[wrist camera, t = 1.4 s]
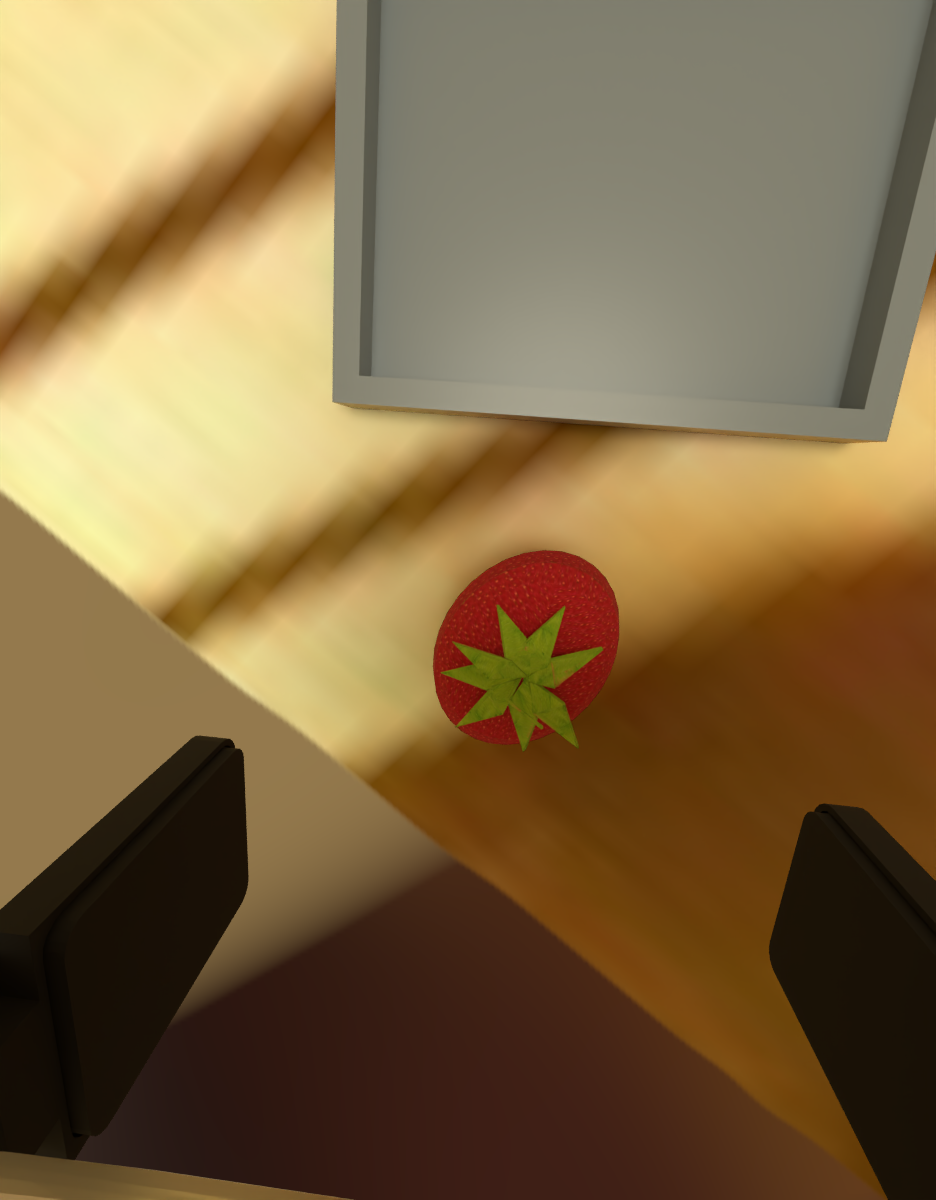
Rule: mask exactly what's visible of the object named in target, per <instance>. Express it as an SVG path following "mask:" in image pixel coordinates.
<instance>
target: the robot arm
mask: <svg viewBox="0 0 936 1200" xmlns="http://www.w3.org/2000/svg"><path fill="white" fill-rule="evenodd" d="M247 886H248V854H247V829H246V804H245V778H244V756H243V752H242V750H240V749H236V748H235V745H234V743H233V741H232V740H231V739H226V738H217V737H207V736H195V737H193V738H192V739H191V740H189V741H188V742H187V743H186V744H185V745H184V746H183V747H182V748H180V749H179V750H178V751H177V752H176V753H175V754H174V755H173V756H172V757H171V758H169V759H168V760H167V761H166V762H165V763H164V764H163V765H161V766H160V767H159V768H158V769H157V770H156V771H155V772H154V773H153V774H151V775H150V776H149V777H148V778H147V779H146V780H145V781H144V782H143V783H141V784H140V785H139V786H138V787H137V788H136V789H135V790H134V791H133V792H131V793H130V794H129V795H128V796H127V797H126V798H125V799H123V800H122V801H121V802H120V803H119V804H118V805H117V806H116V807H115V808H113V809H112V810H111V811H110V812H109V813H108V814H107V815H106V816H104V817H103V819H101V820H100V821H99V822H98V823H97V824H96V825H94V826H93V827H92V828H91V829H90V830H89V831H88V832H87V833H86V834H84V835H83V836H82V837H81V838H80V839H79V840H78V841H77V842H75V843H74V844H73V845H72V846H71V847H70V848H69V849H68V850H67V851H65V852H64V853H63V854H62V855H61V856H60V857H59V858H58V859H56V860H55V861H54V862H53V863H52V864H51V865H50V866H49V867H47V868H46V869H45V870H44V871H43V872H42V873H41V874H40V875H39V876H37V877H36V878H35V879H34V880H33V881H32V882H31V883H30V884H29V885H27V886H26V887H25V888H24V889H23V890H22V891H21V892H20V893H18V894H17V895H16V896H15V897H14V898H13V899H12V900H11V901H10V902H8V903H7V904H6V905H5V906H4V907H3V908H2V909H1V910H0V1200H351V1199H344V1198H337V1197H331V1196H323V1195H317V1194H311V1193H304V1192H297V1191H290V1190H283V1189H277V1188H270V1187H263V1186H256V1185H250V1184H243V1183H237V1182H230V1181H223V1180H216V1179H210V1178H202V1177H196V1176H190V1175H182V1174H176V1173H169V1172H163V1171H156V1170H148V1169H140V1168H132V1167H124V1166H116V1165H108V1164H100V1163H92V1162H84V1161H76V1160H75V1159H76V1157H77V1155H78V1154H79V1152H80V1151H81V1149H82V1147H83V1146H84V1144H85V1143H86V1141H87V1139H88V1138H89V1136H90V1135H91V1136H97V1135H99V1134H101V1133H102V1132H103V1131H104V1129H105V1128H106V1127H107V1126H108V1124H109V1123H110V1121H111V1120H112V1119H113V1117H114V1115H115V1114H116V1112H117V1110H118V1109H119V1107H120V1105H121V1103H122V1102H123V1100H124V1098H125V1097H126V1095H127V1094H128V1092H129V1090H130V1089H131V1087H132V1085H133V1084H134V1081H135V1080H136V1078H137V1077H138V1075H139V1074H140V1072H141V1070H142V1069H143V1067H144V1065H145V1063H146V1062H147V1060H148V1059H149V1057H150V1055H151V1054H152V1052H153V1050H154V1048H155V1047H156V1045H157V1044H158V1042H159V1040H160V1039H161V1037H162V1035H163V1033H164V1032H165V1030H166V1029H167V1027H168V1025H169V1023H170V1022H171V1020H172V1018H173V1017H174V1015H175V1014H176V1012H177V1010H178V1009H179V1007H180V1005H181V1004H182V1002H183V1000H184V998H185V997H186V995H187V994H188V992H189V990H190V989H191V987H192V985H193V984H194V982H195V980H196V979H197V977H198V975H199V974H200V972H201V970H202V968H203V967H204V965H205V963H206V962H207V960H208V958H209V957H210V955H211V954H212V952H213V950H214V949H215V947H216V945H217V944H218V942H219V940H220V938H221V937H222V935H223V934H224V932H225V930H226V929H227V927H228V925H229V924H230V922H231V920H232V918H233V917H234V915H235V914H236V912H237V910H238V909H239V907H240V905H241V903H242V901H243V899H244V897H245V894H246V891H247ZM769 955H770V961H771V965H772V968H773V970H774V973H775V975H776V976H777V978H778V980H779V982H780V984H781V986H782V988H783V990H784V992H785V994H786V996H787V998H788V1000H789V1002H790V1004H791V1006H792V1008H793V1010H794V1012H795V1014H796V1016H797V1018H798V1020H799V1022H800V1024H801V1026H802V1028H803V1030H804V1032H805V1034H806V1036H807V1038H808V1040H809V1042H810V1044H811V1046H812V1048H813V1050H814V1052H815V1054H816V1056H817V1058H818V1060H819V1062H820V1064H821V1066H822V1068H823V1070H824V1072H825V1074H826V1076H827V1078H828V1080H829V1082H830V1084H831V1086H832V1088H833V1090H834V1092H835V1094H836V1096H837V1098H838V1100H839V1102H840V1104H841V1106H842V1108H843V1110H844V1112H845V1114H846V1116H847V1118H848V1120H849V1122H850V1124H851V1126H852V1128H853V1130H854V1132H855V1134H856V1136H857V1138H858V1140H859V1142H860V1144H861V1146H862V1148H863V1150H864V1152H865V1154H866V1156H867V1158H868V1160H869V1162H870V1164H871V1166H872V1168H873V1170H874V1172H875V1174H876V1176H877V1178H878V1180H879V1182H880V1184H881V1186H882V1188H883V1190H884V1192H885V1194H886V1196H887V1198H888V1200H936V881H935V880H934V879H933V878H932V877H931V876H930V875H929V874H928V873H927V872H926V871H925V870H924V869H923V868H922V867H921V866H920V865H919V864H918V863H917V862H916V861H915V860H914V859H913V858H912V857H911V856H910V855H909V854H908V852H907V851H906V850H905V849H904V848H903V847H902V846H901V845H900V844H899V843H898V842H897V841H896V840H895V839H894V838H893V837H892V836H891V835H890V834H889V833H888V832H887V831H886V830H885V829H884V828H883V827H882V826H881V825H880V824H879V823H878V822H877V821H876V820H875V819H874V818H873V817H872V816H871V815H870V814H869V813H868V812H867V811H866V810H864V809H862V808H858V807H850V806H841V805H832V804H821V805H819V806H818V807H817V808H816V809H815V811H814V812H808V813H807V814H806V815H805V817H804V819H803V823H802V826H801V830H800V834H799V837H798V841H797V845H796V848H795V852H794V856H793V859H792V863H791V867H790V870H789V874H788V878H787V881H786V885H785V889H784V892H783V896H782V900H781V903H780V907H779V911H778V914H777V918H776V922H775V925H774V929H773V932H772V936H771V940H770V945H769Z"/></svg>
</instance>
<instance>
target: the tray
mask: <svg viewBox="0 0 936 1200" xmlns="http://www.w3.org/2000/svg"><path fill="white" fill-rule="evenodd" d="M935 252H936V0H337V28H336V122H335V216H334V309H333V402H334V403H338V404H341V405H344V406H348V407H351V408H362V409H376V410H390V411H404V412H418V413H432V414H446V415H460V416H474V417H488V418H502V419H516V420H529V421H543V422H557V423H571V424H585V425H599V426H613V427H627V428H641V429H655V430H669V431H683V432H697V433H711V434H724V435H738V436H752V437H766V438H780V439H794V440H808V441H822V442H836V443H863V442H886V441H887V438H888V434H889V430H890V427H891V423H892V419H893V415H894V411H895V407H896V403H897V399H898V396H899V392H900V388H901V384H902V380H903V376H904V372H905V368H906V364H907V361H908V357H909V353H910V349H911V345H912V341H913V337H914V333H915V330H916V326H917V322H918V318H919V314H920V310H921V306H922V302H923V298H924V295H925V291H926V287H927V283H928V279H929V275H930V271H931V267H932V264H933V260H934V256H935Z"/></svg>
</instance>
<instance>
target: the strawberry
mask: <svg viewBox="0 0 936 1200" xmlns="http://www.w3.org/2000/svg"><path fill="white" fill-rule="evenodd" d="M618 640H619V612H618V606H617V602H616V599H615V595H614V592H613V590H612V588H611V586H610V585H609V583H608V581H607V579H606V578H605V577H604V576H603V574H602V573H601V572H600V571H599V570H598V569H597V568H596V567H595V566H594V565H592V564H590V563H589V562H587V561H585V560H584V559H582V558H580V557H579V556H575V555H572V554H569V553H565V552H562V551H546V550H542V551H535V552H528V553H523V554H520V555H517V556H514V557H511V558H508V559H506V560H504V561H502V562H500V563H498V564H496V565H495V566H493V567H491V568H489V569H488V570H486V571H485V572H484V573H482V574H481V575H480V576H479V577H477V578H476V579H475V580H474V581H472V582H471V583H470V584H469V585H468V586H467V588H466V589H465V590H464V591H463V592H462V593H461V594H460V595H459V596H458V597H457V599H456V600H455V602H454V603H453V605H452V606H451V608H450V609H449V611H448V612H447V614H446V616H445V619H444V621H443V623H442V625H441V627H440V630H439V632H438V636H437V640H436V644H435V648H434V659H433V671H434V679H435V686H436V693H437V696H438V699H439V701H440V704H441V707H442V709H443V710H444V712H445V713H446V715H447V716H448V718H449V719H450V721H451V722H452V723H453V724H454V725H456V727H458V728H459V729H460V730H461V731H462V732H464V733H466V734H468V735H469V736H471V737H473V738H475V739H478V740H481V741H484V742H487V743H493V744H504V745H508V744H518V743H520V744H521V747H522V750H523V752H524V751H525V750H526V748H527V745H528V743H529V741H532V740H536V739H539V738H542V737H544V736H546V735H549V734H551V733H553V732H555V731H556V732H557V733H558V734H560V735H561V736H562V737H564V738H565V739H566V740H567V741H569V742H570V743H571V744H573V745H574V746H575V747H577V748H578V747H579V745H578V742H577V739H576V736H575V733H574V729H573V726H572V723H571V721H572V720H574V719H575V718H576V717H577V716H578V715H579V714H580V713H581V712H582V711H583V710H584V709H585V708H587V707H588V706H589V704H590V703H591V702H592V701H593V699H594V698H595V697H596V695H597V694H598V693H599V692H600V690H601V688H602V687H603V685H604V683H605V681H606V679H607V678H608V676H609V674H610V671H611V669H612V666H613V663H614V660H615V657H616V653H617V646H618Z"/></svg>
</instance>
